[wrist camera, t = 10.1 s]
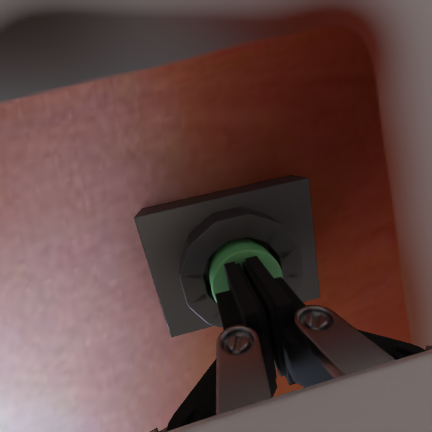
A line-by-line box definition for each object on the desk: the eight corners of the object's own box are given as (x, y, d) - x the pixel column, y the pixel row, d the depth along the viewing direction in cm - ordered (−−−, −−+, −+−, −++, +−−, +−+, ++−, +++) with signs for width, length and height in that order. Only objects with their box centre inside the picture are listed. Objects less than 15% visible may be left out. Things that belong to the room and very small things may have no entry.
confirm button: (265, 230, 13) (278, 242, 11) (274, 287, 14) (287, 305, 12) (201, 246, 13) (204, 259, 11) (215, 303, 14) (219, 324, 12)
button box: (291, 174, 15) (327, 180, 12) (304, 280, 18) (338, 315, 14) (140, 208, 15) (125, 226, 11) (172, 315, 17) (168, 362, 13)
